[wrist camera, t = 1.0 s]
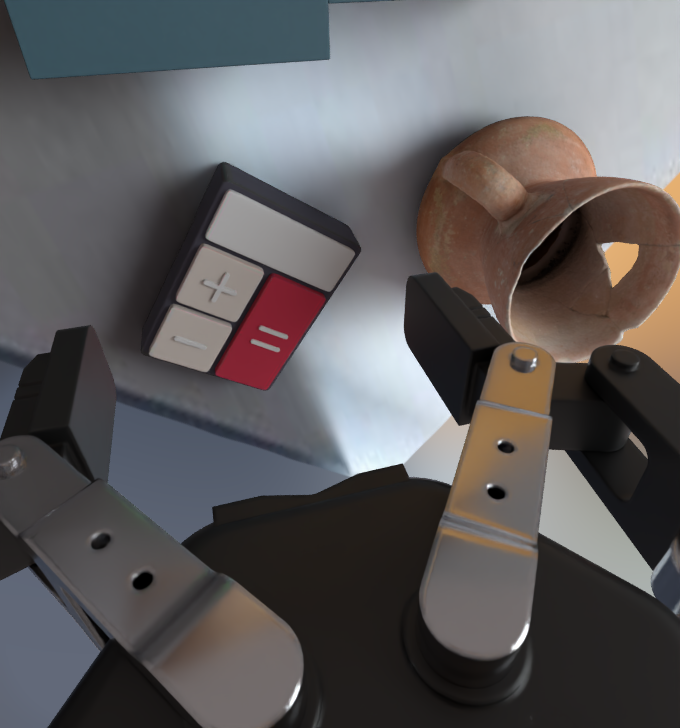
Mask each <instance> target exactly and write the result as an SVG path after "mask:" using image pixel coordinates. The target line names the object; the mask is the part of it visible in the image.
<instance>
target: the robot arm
mask: <svg viewBox="0 0 680 728" xmlns="http://www.w3.org/2000/svg"><path fill="white" fill-rule="evenodd" d="M404 333H405V338H406V342H407V344H408V346H409V348H410V350H411V351H412V353H413V354H414V356H415V358H416V359H417V361H418V362H419V364H420V365H421V367H422V369H423V370H424V372H425V373H426V375H427V377H428V378H429V380H430V381H431V383H432V384H433V386H434V388H435V389H436V391H437V392H438V394H439V395H440V397H441V399H442V400H443V402H444V403H445V405H446V406H447V408H448V410H449V411H450V413H451V414H452V416H453V417H454V419H455V421H456V422H457V423H458V425H459V426H460V425H465V424H470V426H469V430H468V433H467V436H466V440H465V443H464V447H463V450H462V453H461V457H460V460H459V463H458V467H457V470H456V474H455V477H454V480H453V484H452V485H449V484H447V483H443V482H440V481H437V480H432V479H427V478H417V477H409V476H408V474H407V472H406V470H405V468H404V465H403V464H398V465H394V466H389V467H385V468H381V469H376V470H372V471H368V472H363V473H359V474H356V475H354V476H352V477H350V478H348V479H346V480H344V481H342V482H340V483H338V484H336V485H333V486H331V487H329V488H327V489H325V490H323V491H321V492H319V493H317V494H312V495H277V496H276V495H275V496H258V497H254V498H249V499H245V500H241V501H236V502H232V503H228V504H223V505H219V506H214V507H212V509H213V520H214V522H213V523H211V524H209V525H207V526H205V527H203V528H202V529H200V530H199V531H197V532H195V533H194V534H192V535H191V536H190V537H188V538H187V539H186V540H184V541H183V542H182V543H181V544H180V543H179V542H178V541H176V540H175V539H174V538H173V537H172V536H170V535H169V534H168V533H167V532H166V531H164V530H163V529H162V528H161V527H160V526H158V525H157V524H156V523H155V522H154V521H152V520H151V519H150V518H149V517H148V516H146V515H145V514H144V513H143V512H142V511H140V510H139V509H138V508H137V507H136V506H134V505H133V504H132V503H131V502H129V501H128V500H127V499H126V498H125V497H124V496H122V495H121V494H120V493H119V492H118V491H116V490H115V489H114V488H113V487H112V486H110V485H109V484H108V473H109V463H110V454H111V444H112V434H113V425H114V414H115V406H116V389H115V384H114V379H113V376H112V373H111V371H110V368H109V365H108V363H107V360H106V357H105V355H104V352H103V350H102V347H101V344H100V342H99V339H98V336H97V334H96V331H95V330H94V328H93V327H92V326H91V325H88V326H82V327H75V328H69V329H63V330H58V331H57V332H56V334H55V338H54V341H53V345H52V349H51V352H50V353H44V354H38V355H37V356H36V357H35V358H34V359H33V360H32V361H31V362H30V363H29V364H28V365H27V366H26V367H25V368H24V370H23V373H22V375H21V379H20V381H19V388H17V390H16V394H15V397H14V398H15V400H13V402H12V405H11V408H10V411H9V414H8V417H7V420H6V423H5V426H4V429H3V432H2V435H1V438H0V580H2V579H4V578H6V577H8V576H10V575H12V574H14V573H16V572H18V571H20V570H22V569H24V568H26V567H28V568H29V569H30V571H31V572H32V573H33V574H34V575H35V576H36V577H37V578H38V580H39V581H40V582H41V583H42V584H43V585H44V586H45V587H46V588H47V590H48V591H49V592H50V593H51V594H52V595H53V596H54V597H55V598H56V599H57V601H58V602H59V603H60V604H61V605H62V606H63V607H64V608H65V610H66V611H67V612H68V613H69V614H70V615H71V616H72V617H73V619H74V620H75V621H76V622H77V623H78V624H79V626H80V627H81V628H82V629H83V631H84V632H85V633H86V635H87V636H88V637H89V638H90V640H91V641H92V642H93V643H94V645H95V646H96V647H97V648H98V649H99V650H100V653H99V655H98V657H97V658H96V659H95V661H94V662H93V663H92V665H91V666H90V668H89V669H88V671H87V672H86V673H85V675H84V676H83V678H82V679H81V681H80V682H79V683H78V685H77V686H76V688H75V689H74V691H73V692H72V693H71V695H70V696H69V698H68V699H67V701H66V702H65V703H64V705H63V706H62V708H61V709H60V711H59V712H58V713H57V715H56V716H55V718H54V719H53V720H52V722H51V723H50V725H49V726H48V728H680V384H679V383H678V382H677V381H676V380H674V379H673V378H672V377H671V376H670V375H669V374H668V373H667V372H665V371H664V370H663V369H662V368H661V367H660V366H659V365H658V364H657V363H655V362H654V361H653V360H652V359H651V358H650V357H648V356H647V355H646V354H644V353H642V352H640V351H638V350H636V349H633V348H630V347H626V346H621V345H604V346H600V347H598V348H596V349H594V351H593V352H592V353H591V356H590V359H589V362H588V363H562V362H555V360H554V358H553V356H552V355H551V354H550V353H549V352H547V351H546V350H545V349H543V348H541V347H539V346H536V345H533V344H530V343H524V342H516V341H515V340H514V339H513V338H512V337H511V336H510V335H509V334H508V333H507V332H506V331H505V329H504V328H503V327H502V326H501V325H500V324H499V323H498V322H497V321H496V320H495V319H494V318H493V316H492V317H491V316H490V313H489V312H488V311H487V310H486V309H485V308H483V306H482V305H481V303H480V302H479V301H478V300H477V299H476V298H475V297H474V296H473V295H472V294H470V293H468V292H466V291H464V290H462V289H460V288H458V287H453V288H451V287H450V286H449V285H448V284H447V283H446V281H445V280H444V279H443V278H442V277H441V276H440V275H439V274H438V273H437V272H433V273H426V274H420V275H414V276H409V277H408V279H407V284H406V298H405V314H404ZM630 432H632V433H633V434H634V435H635V436H636V437H637V438H638V439H639V440H640V442H641V443H642V444H643V446H644V447H645V449H646V452H647V455H648V459H647V458H646V457H645V456H644V455H643V453H642V452H641V451H640V450H639V449H638V448H637V447H636V446H635V444H634V443H633V442H632V441H631V440H630V439H629V438H628V437H629V435H630ZM549 449H552V450H565V451H566V453H567V454H568V455H569V457H570V458H571V460H572V461H573V462H574V464H575V465H576V466H577V468H578V469H579V470H580V472H581V473H582V475H583V476H584V477H585V479H586V480H587V481H588V483H589V484H590V485H591V487H592V488H593V490H594V491H595V492H596V494H597V495H598V496H599V498H600V499H601V500H602V502H603V503H604V505H605V506H606V507H607V509H608V510H609V512H610V513H611V514H612V515H613V517H614V518H615V520H616V521H617V522H618V524H619V525H620V526H621V528H622V529H623V531H624V532H625V533H626V535H627V536H628V537H629V539H630V540H631V542H632V543H633V544H634V546H635V547H636V548H637V550H638V551H639V553H640V554H641V555H642V557H643V558H644V559H645V561H646V562H647V564H648V565H649V566H650V568H651V569H652V570H653V572H652V575H651V587H652V591H653V593H654V596H655V597H656V598H654V597H653V596H651V595H650V594H648V593H646V592H645V591H643V590H641V589H639V588H638V587H636V586H634V585H632V584H630V583H629V582H627V581H625V580H623V579H621V578H619V577H618V576H616V575H614V574H612V573H611V572H609V571H607V570H605V569H603V568H602V567H600V566H598V565H596V564H594V563H593V562H591V561H589V560H587V559H585V558H583V557H582V556H580V555H578V554H576V553H574V552H573V551H571V550H569V549H567V548H566V547H564V546H562V545H560V544H558V543H556V542H555V541H553V540H551V539H549V538H547V537H546V536H544V535H542V534H540V533H539V532H538V530H539V522H540V514H541V506H542V499H543V490H544V483H545V474H546V467H547V458H548V451H549Z"/></svg>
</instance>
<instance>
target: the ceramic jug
mask: <svg viewBox="0 0 680 728" xmlns="http://www.w3.org/2000/svg"><path fill="white" fill-rule="evenodd" d="M416 236H417V245H418V250H419V254H420V257H421V260H422V262H423V265H424V267H425V269H426V271H427V272H428V273H433V272H437V273H438V274H439V275H440V276H441V277H442V278H443V279H444V280H445V281H446V283H447V284H448V285H449V286H450V287H451V288H453V287H458V288H460V289H462V290H464V291H466V292H468V293H470V294H472V295H473V296H474V297H475V298H476V299H477V300H478V301H479V302H480V303H481V304H492V307H493V309H494V312H495V314H496V317H497V319H498V321H499V323H500V325H501V326H502V327H503V328H504V329H505V331H506V332H507V333H508V334H509V335H510V336H511V337H512V338H513V339H514V340H515V341H516V342H524V343H530V344H533V345H536V346H539V347H541V348H543V349H545V350H546V351H547V352H549V353H550V354H551V355H552V356H553V358H554V360H555V362H562V363H576V362H579V361H583V360H586V359H589V358H590V356H591V353H592V352H593V351H594V349H596V348H598V347H600V346H604V345H616V344H617V343H619V342H620V341H621V340H622V339H623V333H624V332H625V331H627V330H629V329H633V328H638V327H639V326H640V325H641V324H643V322H644V321H645V320H647V318H649V316H650V315H651V314H652V313H653V312H654V311H655V309H656V308H657V307H658V305H660V303H661V302H662V300H663V299H664V297H665V296H666V294H667V293H668V291H669V290H670V288H671V286H672V284H673V282H674V281H675V279H676V276H677V273H678V270H679V268H680V208H679V206H678V204H677V203H676V201H675V200H674V199H673V198H672V197H671V196H670V195H669V194H668V193H667V192H665V191H664V190H663V189H661V188H659V187H656V186H654V185H652V184H649V183H645V182H641V181H636V180H631V179H624V178H616V177H597V175H596V170H595V166H594V163H593V160H592V157H591V155H590V153H589V151H588V149H587V148H586V146H585V145H584V143H583V142H582V140H581V139H580V138H579V137H578V136H577V135H576V134H575V133H574V132H573V131H572V130H570V129H569V128H567V127H566V126H564V125H562V124H560V123H558V122H556V121H553V120H550V119H546V118H541V117H528V116H526V117H515V118H510V119H506V120H502V121H498V122H495V123H493V124H490V125H488V126H486V127H484V128H482V129H480V130H479V131H477V132H475V133H474V134H472V135H471V136H469V137H468V138H466V139H465V140H464V141H462V142H461V143H460V144H459V145H458V146H456V147H455V148H454V149H453V150H451V151H450V152H449V153H448V154H447V155H445V156H444V157H443V158H441V160H440V162H439V164H438V166H437V168H436V170H435V172H434V173H433V175H432V178H431V180H430V182H429V184H428V186H427V188H426V190H425V192H424V195H423V198H422V201H421V204H420V208H419V212H418V217H417V228H416ZM610 242H623V243H630V244H638V245H639V252H638V258H637V260H636V262H635V263H634V265H633V267H632V269H631V270H630V271H629V272H628V273H627V274H626V275H625V276H624V277H623V278H622V279H621V280H620V282H619V283H618V284H617V285H615V286H614V287H613V288H612V284H611V272H610V268H609V266H608V263H607V261H606V258H605V254H604V251H603V250H602V247H601V245H602V244H603V243H610Z"/></svg>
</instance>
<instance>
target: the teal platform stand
mask: <svg viewBox="0 0 680 728" xmlns="http://www.w3.org/2000/svg"><path fill="white" fill-rule="evenodd" d="M372 1H394V0H4V2H5V5H6V8H7V11H8V14H9V17H10V20H11V23H12V26H13V28H14V31H15V34H16V37H17V40H18V43H19V46H20V49H21V52H22V55H23V58H24V61H25V63H26V66H27V69H28V72H29V75H30V78H31V79H47V78H62V77H77V76H91V75H106V74H121V73H136V72H151V71H166V70H181V69H196V68H211V67H226V66H241V65H256V64H271V63H286V62H301V61H316V60H329V59H330V43H329V11H328V3H350V2H372Z"/></svg>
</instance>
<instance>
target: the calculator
mask: <svg viewBox="0 0 680 728" xmlns="http://www.w3.org/2000/svg"><path fill="white" fill-rule="evenodd" d="M360 252H361V247H360V245H359V243H358V241H357V240H356V238H355V236H354V234H353V233H352V231H351V229H350V228H349V226H347V225H346V224H344V223H342V222H340V221H338V220H336V219H334V218H332V217H330V216H328V215H326V214H324V213H323V212H321V211H319V210H317V209H315V208H313V207H311V206H309V205H307V204H305V203H303V202H301V201H300V200H298V199H296V198H294V197H292V196H290V195H288V194H286V193H284V192H282V191H280V190H278V189H276V188H275V187H273V186H271V185H269V184H267V183H265V182H263V181H261V180H259V179H257V178H255V177H253V176H252V175H250V174H248V173H246V172H244V171H242V170H240V169H238V168H236V167H234V166H232V165H230V164H228V163H226V162H222V163H220V164H219V165H218V167H217V169H216V171H215V173H214V175H213V177H212V179H211V182H210V184H209V186H208V188H207V190H206V192H205V194H204V196H203V199H202V201H201V203H200V205H199V207H198V210H197V213H196V216H195V218H194V221H193V224H192V226H191V228H190V230H189V232H188V234H187V236H186V238H185V240H184V243H183V245H182V247H181V249H180V251H179V253H178V255H177V257H176V259H175V261H174V264H173V266H172V268H171V270H170V272H169V274H168V276H167V278H166V280H165V282H164V285H163V287H162V289H161V291H160V293H159V295H158V297H157V299H156V301H155V304H154V306H153V308H152V310H151V312H150V314H149V316H148V318H147V320H146V322H145V325H144V327H143V330H142V341H141V352H142V353H143V354H144V355H147V356H150V357H153V358H156V359H160V360H163V361H167V362H170V363H173V364H177V365H180V366H183V367H187V368H190V369H193V370H197V371H200V372H204V373H207V374H210V375H214V376H217V377H220V378H224V379H227V380H230V381H234V382H237V383H240V384H244V385H247V386H251V387H254V388H257V389H261V390H269V389H270V388H271V386H272V385H273V383H274V382H275V380H276V379H277V377H278V376H279V374H280V373H281V371H282V370H283V368H284V367H285V365H286V364H287V362H288V361H289V359H290V358H291V356H292V355H293V353H294V352H295V350H296V349H297V347H298V346H299V344H300V343H301V341H302V340H303V338H304V337H305V335H306V334H307V332H308V331H309V329H310V328H311V326H312V325H313V323H314V322H315V320H316V319H317V317H318V315H319V314H320V312H321V311H322V309H323V308H324V306H325V305H326V303H327V302H328V300H329V299H330V297H331V296H332V294H333V293H334V291H335V290H336V288H337V287H338V285H339V284H340V282H341V281H342V279H343V278H344V276H345V275H346V273H347V272H348V270H349V269H350V267H351V266H352V264H353V263H354V261H355V260H356V258H357V257H358V255H359V254H360Z"/></svg>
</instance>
